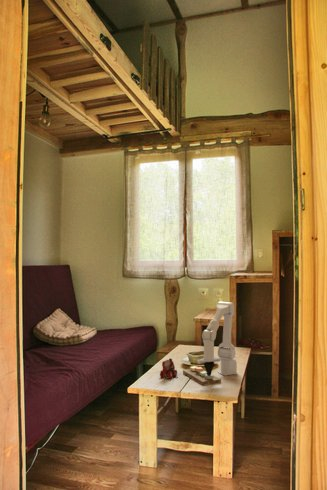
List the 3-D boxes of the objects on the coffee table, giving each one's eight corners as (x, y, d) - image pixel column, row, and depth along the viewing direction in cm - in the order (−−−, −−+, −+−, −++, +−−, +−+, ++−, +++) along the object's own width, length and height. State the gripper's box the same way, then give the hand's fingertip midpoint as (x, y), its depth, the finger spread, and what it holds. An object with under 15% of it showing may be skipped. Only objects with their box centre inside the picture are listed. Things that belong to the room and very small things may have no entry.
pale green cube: (205, 377, 236) (205, 371, 236) (208, 379, 232) (208, 372, 233) (199, 377, 234) (199, 371, 235) (202, 379, 231) (202, 373, 231)
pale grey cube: (210, 380, 230) (210, 373, 231) (213, 381, 227) (213, 375, 227) (204, 380, 229) (204, 374, 229) (207, 382, 225) (207, 376, 226)
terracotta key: (200, 372, 241) (200, 366, 242) (203, 374, 238) (203, 368, 238) (194, 373, 240) (194, 367, 240) (197, 375, 237) (197, 369, 237)
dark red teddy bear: (178, 375, 242) (179, 358, 242) (168, 380, 231) (168, 362, 232) (169, 373, 245) (169, 356, 246) (158, 378, 235) (158, 360, 235)
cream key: (195, 372, 247) (195, 366, 247) (198, 373, 243) (198, 367, 244) (190, 372, 245) (190, 366, 246) (193, 374, 242) (193, 368, 242)
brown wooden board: (200, 371, 250) (200, 368, 250) (221, 382, 227) (221, 379, 227) (183, 373, 245) (183, 370, 245) (202, 385, 222) (202, 381, 222)
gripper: (215, 348, 235) (216, 371, 235) (194, 350, 229) (194, 374, 229) (222, 351, 229) (222, 375, 228) (200, 353, 223) (200, 378, 222)
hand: (208, 375), depth 228 cm, fingers closed, pressing on pale grey cube
